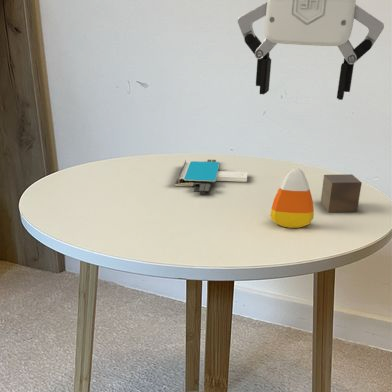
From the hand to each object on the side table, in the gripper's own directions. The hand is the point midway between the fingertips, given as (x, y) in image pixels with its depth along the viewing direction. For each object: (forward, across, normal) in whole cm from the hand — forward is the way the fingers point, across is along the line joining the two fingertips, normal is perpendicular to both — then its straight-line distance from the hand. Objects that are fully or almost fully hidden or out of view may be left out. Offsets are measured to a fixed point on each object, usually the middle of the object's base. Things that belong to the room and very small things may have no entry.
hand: (301, 95), depth 76 cm
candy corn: (+17, +1, -1) cm, 17 cm away
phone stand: (+17, -16, +19) cm, 30 cm away
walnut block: (+17, +6, +9) cm, 20 cm away
